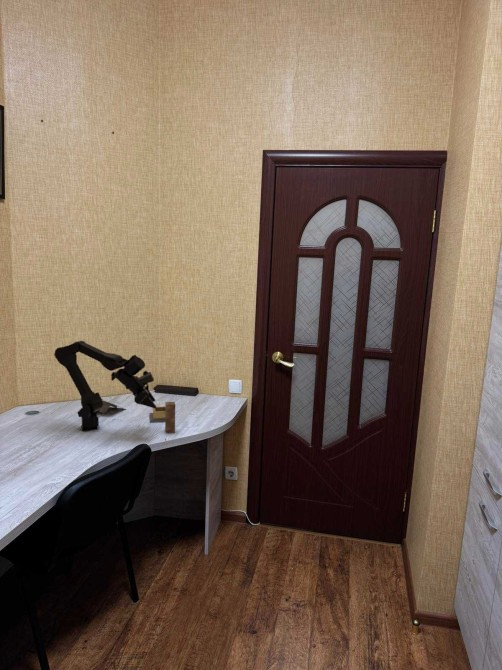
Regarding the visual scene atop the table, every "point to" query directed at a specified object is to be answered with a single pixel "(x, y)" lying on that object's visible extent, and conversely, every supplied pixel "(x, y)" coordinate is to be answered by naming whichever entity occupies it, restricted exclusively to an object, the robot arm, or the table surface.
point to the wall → (107, 406)
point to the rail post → (170, 417)
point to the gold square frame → (157, 415)
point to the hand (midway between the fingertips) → (155, 404)
